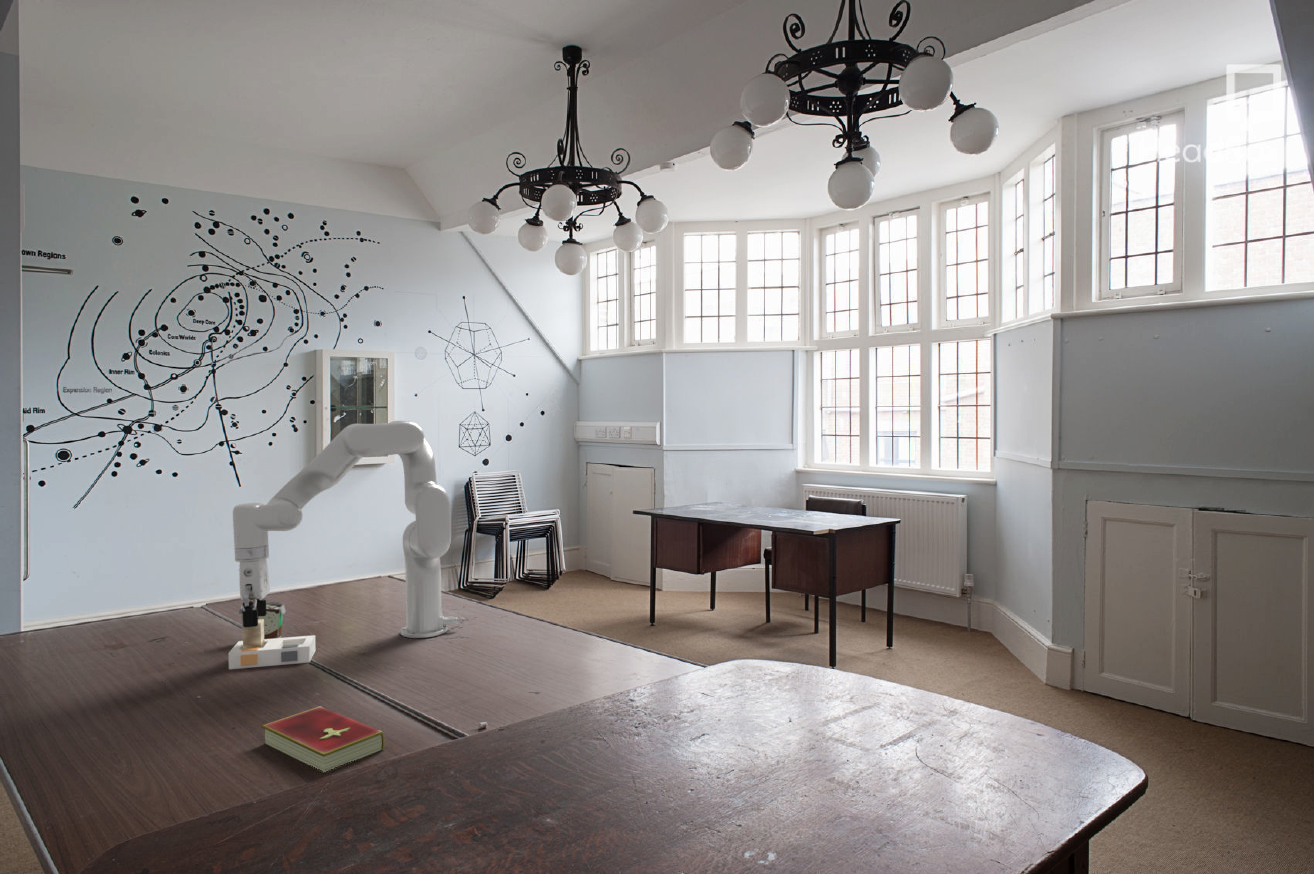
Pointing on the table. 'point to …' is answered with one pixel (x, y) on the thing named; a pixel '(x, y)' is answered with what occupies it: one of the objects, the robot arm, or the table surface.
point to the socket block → (273, 652)
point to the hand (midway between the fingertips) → (255, 621)
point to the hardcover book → (323, 738)
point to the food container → (271, 619)
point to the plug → (254, 636)
